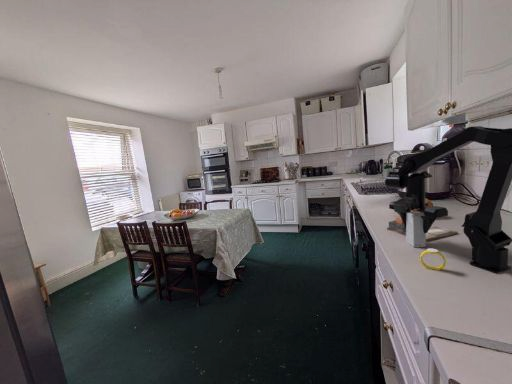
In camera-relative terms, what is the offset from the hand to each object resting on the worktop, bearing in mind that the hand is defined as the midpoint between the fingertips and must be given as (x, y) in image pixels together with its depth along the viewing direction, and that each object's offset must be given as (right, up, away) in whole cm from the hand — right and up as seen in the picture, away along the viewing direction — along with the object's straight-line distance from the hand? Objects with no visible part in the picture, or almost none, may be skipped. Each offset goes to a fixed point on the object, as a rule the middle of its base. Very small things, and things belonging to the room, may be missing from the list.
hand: (415, 230), depth 84 cm
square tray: (+11, -3, +13) cm, 17 cm away
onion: (+27, +1, +32) cm, 42 cm away
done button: (+5, 0, +15) cm, 16 cm away
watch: (-7, -9, -17) cm, 20 cm away
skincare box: (+1, -6, +1) cm, 6 cm away
